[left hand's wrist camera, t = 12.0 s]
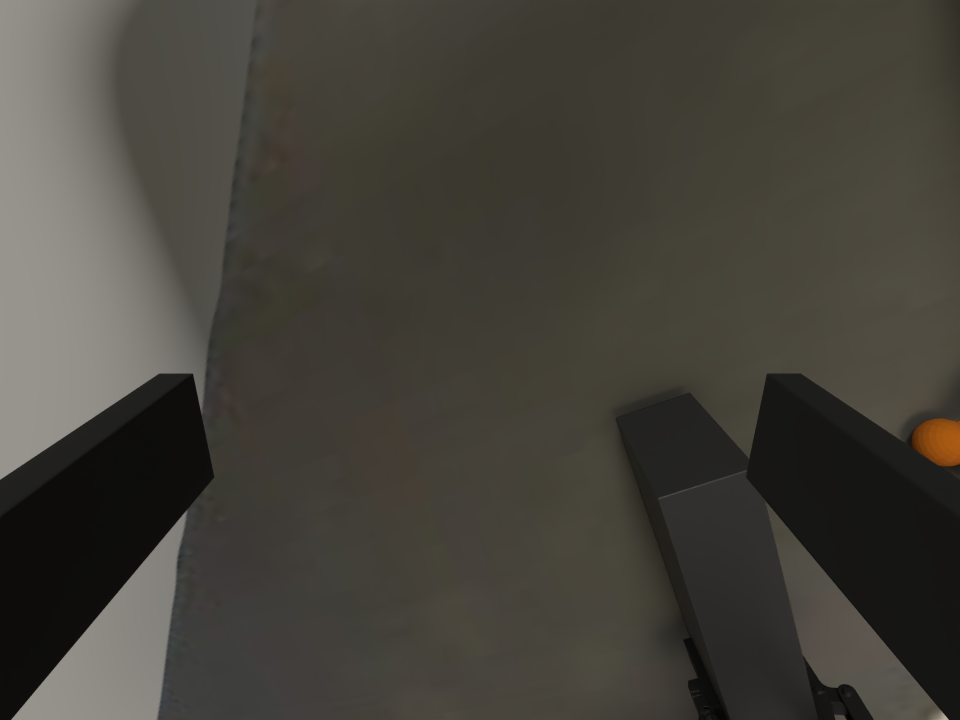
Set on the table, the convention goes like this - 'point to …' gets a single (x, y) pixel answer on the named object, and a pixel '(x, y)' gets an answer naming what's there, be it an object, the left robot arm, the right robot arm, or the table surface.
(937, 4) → the table surface
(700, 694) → the right robot arm
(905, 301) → the table surface
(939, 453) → the molecular model
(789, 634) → the box
